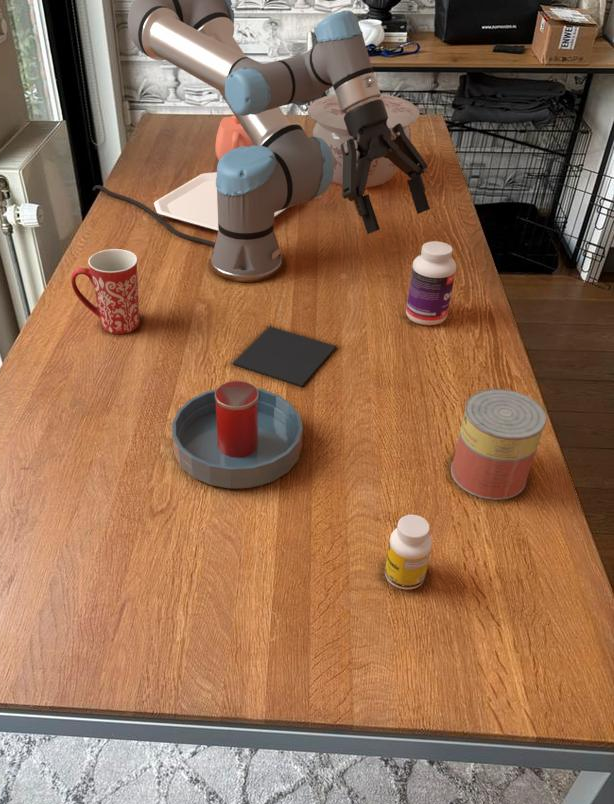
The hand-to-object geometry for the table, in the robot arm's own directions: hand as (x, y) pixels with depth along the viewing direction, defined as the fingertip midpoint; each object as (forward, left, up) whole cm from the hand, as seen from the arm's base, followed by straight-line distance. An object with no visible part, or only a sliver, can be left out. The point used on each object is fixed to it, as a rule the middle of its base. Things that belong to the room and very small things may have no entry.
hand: (399, 221), depth 146 cm
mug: (-29, -47, -17) cm, 58 cm away
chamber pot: (-47, +40, -17) cm, 64 cm away
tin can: (+15, -52, -16) cm, 57 cm away
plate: (-55, +3, -17) cm, 57 cm away
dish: (+15, -52, -16) cm, 57 cm away
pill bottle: (+9, +1, -17) cm, 19 cm away
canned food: (+45, -27, -17) cm, 55 cm away
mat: (+1, -29, -16) cm, 34 cm away
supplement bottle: (+50, -52, -17) cm, 74 cm away
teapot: (-76, +24, -17) cm, 81 cm away
